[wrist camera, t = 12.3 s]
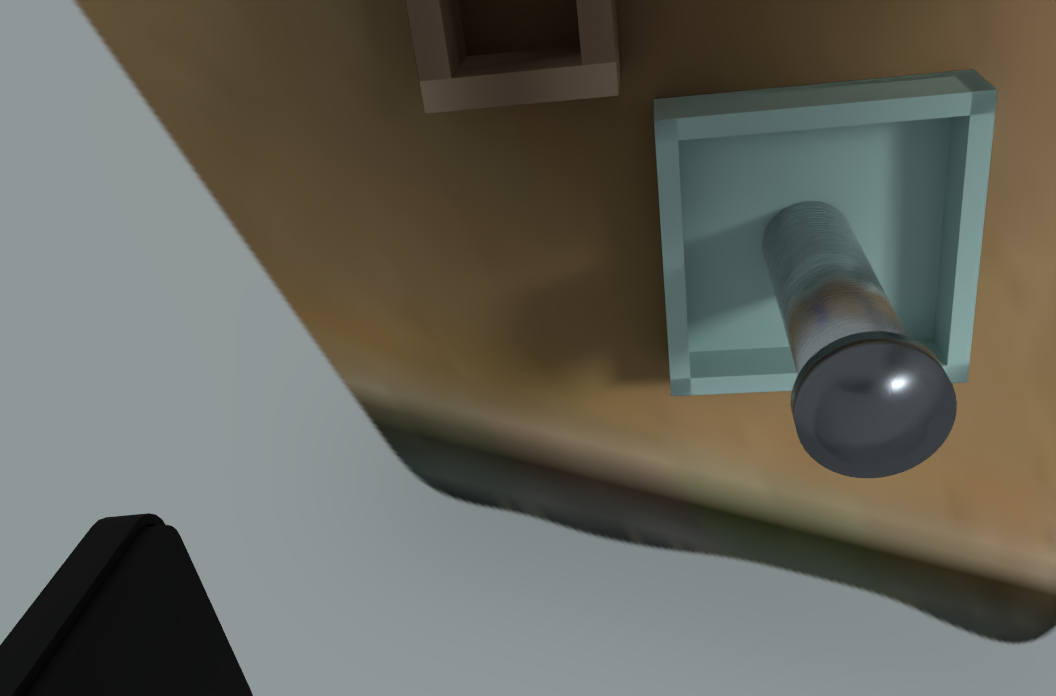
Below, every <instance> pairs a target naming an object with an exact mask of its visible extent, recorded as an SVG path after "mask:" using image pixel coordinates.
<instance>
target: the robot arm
mask: <svg viewBox="0 0 1056 696" xmlns="http://www.w3.org/2000/svg"><path fill="white" fill-rule="evenodd" d="M0 696H253V695H252V692H251V690H250V688H249V685H248V683H247V681H246V679H245V677H244V675H243V672H242V670H241V668H240V666H239V664H238V661H237V659H236V657H235V655H234V653H233V650H232V648H231V646H230V644H229V642H228V640H227V637H226V635H225V633H224V631H223V628H222V626H221V624H220V622H219V620H218V618H217V615H216V613H215V611H214V609H213V607H212V604H211V602H210V600H209V598H208V596H207V593H206V591H205V589H204V587H203V585H202V583H201V580H200V578H199V576H198V574H197V572H196V569H195V567H194V565H193V563H192V561H191V558H190V556H189V554H188V552H187V550H186V547H185V545H184V543H183V541H182V539H181V537H180V535H179V533H178V531H177V530H176V529H175V528H174V527H172V526H169V525H165V524H164V522H163V520H162V519H161V518H159V517H158V516H157V515H154V514H139V515H128V516H117V517H106V518H104V519H101V520H98V521H97V522H96V523H95V524H94V525H93V526H92V527H91V528H90V530H89V531H88V532H87V534H86V535H85V536H84V538H83V539H82V540H81V541H80V543H79V544H78V545H77V547H76V548H75V549H74V551H73V552H72V553H71V554H70V556H69V557H68V558H67V560H66V561H65V562H64V564H63V565H62V566H61V568H60V569H59V570H58V571H57V573H56V574H55V575H54V577H53V578H52V579H51V580H50V582H49V583H48V584H47V585H46V587H45V588H44V589H43V591H42V592H41V593H40V595H39V596H38V597H37V599H36V600H35V601H34V602H33V604H32V605H31V606H30V607H29V609H28V610H27V611H26V613H25V614H24V615H23V617H22V618H21V619H20V620H19V622H18V623H17V624H16V626H15V627H14V628H13V630H12V631H11V632H10V634H9V635H8V636H7V637H6V639H5V640H4V641H3V643H2V644H1V645H0Z"/></svg>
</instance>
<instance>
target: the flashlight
mask: <svg viewBox="0 0 1056 696" xmlns="http://www.w3.org/2000/svg"><path fill="white" fill-rule="evenodd" d="M762 249H763V255H764V258H765V262H766V265H767V269H768V272H769V276H770V279H771V283H772V286H773V290H774V293H775V297H776V300H777V304H778V307H779V311H780V314H781V318H782V321H783V325H784V328H785V332H786V335H787V339H788V342H789V346H790V349H791V353H792V356H793V360H794V363H795V367H796V370H797V374H798V376H797V378H796V380H795V383H794V385H793V389H792V394H791V410H792V414H793V419H794V422H795V426H796V430H797V434H798V437H799V439H800V442H801V444H802V445H803V447H804V449H805V450H806V451H807V453H808V454H809V455H810V456H811V457H812V458H813V459H814V460H815V461H817V462H818V463H819V464H821V465H822V466H824V467H825V468H827V469H829V470H831V471H833V472H836V473H839V474H842V475H846V476H850V477H857V478H878V477H885V476H890V475H894V474H898V473H901V472H904V471H906V470H908V469H911V468H913V467H915V466H916V465H918V464H920V463H922V462H923V461H924V460H926V459H927V458H929V457H930V456H931V455H932V454H933V453H934V452H936V451H937V449H938V448H939V447H940V446H941V445H942V444H943V442H944V441H945V440H946V438H947V437H948V435H949V433H950V431H951V429H952V426H953V424H954V421H955V416H956V404H957V402H956V395H955V391H954V388H953V385H952V383H951V382H950V380H949V378H948V376H947V374H946V372H945V370H944V369H943V367H942V365H941V363H940V361H939V360H938V359H937V357H936V356H935V355H934V354H933V353H932V352H931V351H930V350H929V349H928V348H927V347H926V346H924V345H923V344H922V343H920V342H918V341H916V340H914V339H913V338H910V337H908V336H907V335H906V333H905V331H904V329H903V327H902V325H901V323H900V321H899V319H898V317H897V315H896V313H895V311H894V309H893V307H892V306H891V304H890V302H889V300H888V298H887V296H886V294H885V292H884V290H883V288H882V286H881V284H880V282H879V280H878V278H877V276H876V274H875V273H874V271H873V269H872V267H871V265H870V263H869V261H868V259H867V257H866V255H865V253H864V251H863V249H862V247H861V245H860V243H859V241H858V240H857V238H856V236H855V234H854V232H853V230H852V228H851V226H850V224H849V222H848V220H847V219H846V217H845V216H844V215H843V214H842V213H841V212H840V211H839V210H838V209H837V208H835V207H833V206H831V205H829V204H827V203H823V202H819V201H805V202H799V203H796V204H793V205H790V206H788V207H787V208H785V209H783V210H782V211H780V212H779V213H778V214H777V215H776V216H775V217H774V218H773V219H772V220H771V221H770V223H769V224H768V226H767V228H766V230H765V233H764V236H763V241H762Z"/></svg>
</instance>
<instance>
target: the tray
mask: <svg viewBox="0 0 1056 696" xmlns="http://www.w3.org/2000/svg"><path fill="white" fill-rule="evenodd" d="M997 91H998V90H997V89H996V88H995V87H994V86H993V85H991V84H990V83H989V82H988V81H987V80H985V79H984V78H983V77H982V76H981V75H979V74H978V73H977V72H976V71H975V70H973V69H972V70H962V71H951V72H940V73H929V74H919V75H908V76H897V77H886V78H876V79H865V80H854V81H843V82H833V83H822V84H811V85H801V86H790V87H779V88H768V89H758V90H747V91H736V92H725V93H715V94H704V95H693V96H682V97H672V98H661V99H654V129H655V144H656V160H657V176H658V192H659V208H660V224H661V240H662V256H663V272H664V288H665V304H666V320H667V336H668V352H669V368H670V383H671V396H685V395H706V394H728V393H749V392H770V391H792V389H793V385H794V383H795V380H796V378H797V376H798V374H797V370H796V367H795V363H794V360H793V356H792V353H791V349H790V346H789V342H788V339H787V335H786V332H785V328H784V325H783V321H782V318H781V314H780V311H779V307H778V304H777V300H776V297H775V293H774V290H773V286H772V283H771V279H770V276H769V272H768V269H767V265H766V262H765V258H764V255H763V249H762V241H763V236H764V233H765V230H766V228H767V226H768V224H769V223H770V221H771V220H772V219H773V218H774V217H775V216H776V215H777V214H778V213H779V212H780V211H782V210H783V209H785V208H787V207H788V206H790V205H793V204H796V203H799V202H805V201H819V202H823V203H827V204H829V205H831V206H833V207H835V208H837V209H838V210H839V211H840V212H841V213H842V214H843V215H844V216H845V217H846V219H847V220H848V222H849V224H850V226H851V228H852V230H853V232H854V234H855V236H856V238H857V240H858V241H859V243H860V245H861V247H862V249H863V251H864V253H865V255H866V257H867V259H868V261H869V263H870V265H871V267H872V269H873V271H874V273H875V274H876V276H877V278H878V280H879V282H880V284H881V286H882V288H883V290H884V292H885V294H886V296H887V298H888V300H889V302H890V304H891V306H892V307H893V309H894V311H895V313H896V315H897V317H898V319H899V321H900V323H901V325H902V327H903V329H904V331H905V333H906V335H907V336H908V337H910V338H913V339H914V340H916V341H918V342H920V343H922V344H923V345H924V346H926V347H927V348H928V349H929V350H930V351H931V352H932V353H933V354H934V355H935V356H936V357H937V359H938V360H939V361H940V363H941V365H942V367H943V369H944V370H945V372H946V374H947V376H948V378H949V380H950V382H951V383H963V382H967V381H968V371H969V361H970V352H971V342H972V332H973V323H974V313H975V303H976V294H977V284H978V274H979V265H980V255H981V245H982V236H983V226H984V216H985V207H986V197H987V187H988V178H989V168H990V158H991V149H992V139H993V129H994V120H995V110H996V100H997Z"/></svg>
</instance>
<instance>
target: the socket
mask: <svg viewBox="0 0 1056 696" xmlns="http://www.w3.org/2000/svg"><path fill="white" fill-rule="evenodd" d="M405 1H406V7H407V13H408V18H409V24H410V30H411V36H412V41H413V47H414V53H415V59H416V64H417V70H418V76H419V82H420V87H421V93H422V99H423V105H424V110H425V114H428V113H439V112H450V111H460V110H471V109H482V108H492V107H503V106H513V105H524V104H535V103H545V102H556V101H566V100H577V99H588V98H598V97H609V96H619V87H620V78H621V63H620V50H619V37H618V24H617V11H616V0H576V4H577V15H578V26H579V36H580V45H571V46H561V47H551V48H541V49H532V50H522V51H512V52H503V53H493V54H483V55H473V56H467V50H466V43H465V37H464V30H463V23H462V16H461V10H460V3H459V0H405Z"/></svg>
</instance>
